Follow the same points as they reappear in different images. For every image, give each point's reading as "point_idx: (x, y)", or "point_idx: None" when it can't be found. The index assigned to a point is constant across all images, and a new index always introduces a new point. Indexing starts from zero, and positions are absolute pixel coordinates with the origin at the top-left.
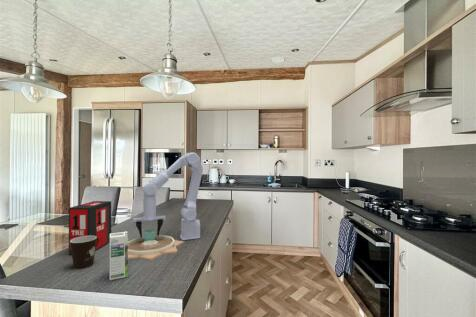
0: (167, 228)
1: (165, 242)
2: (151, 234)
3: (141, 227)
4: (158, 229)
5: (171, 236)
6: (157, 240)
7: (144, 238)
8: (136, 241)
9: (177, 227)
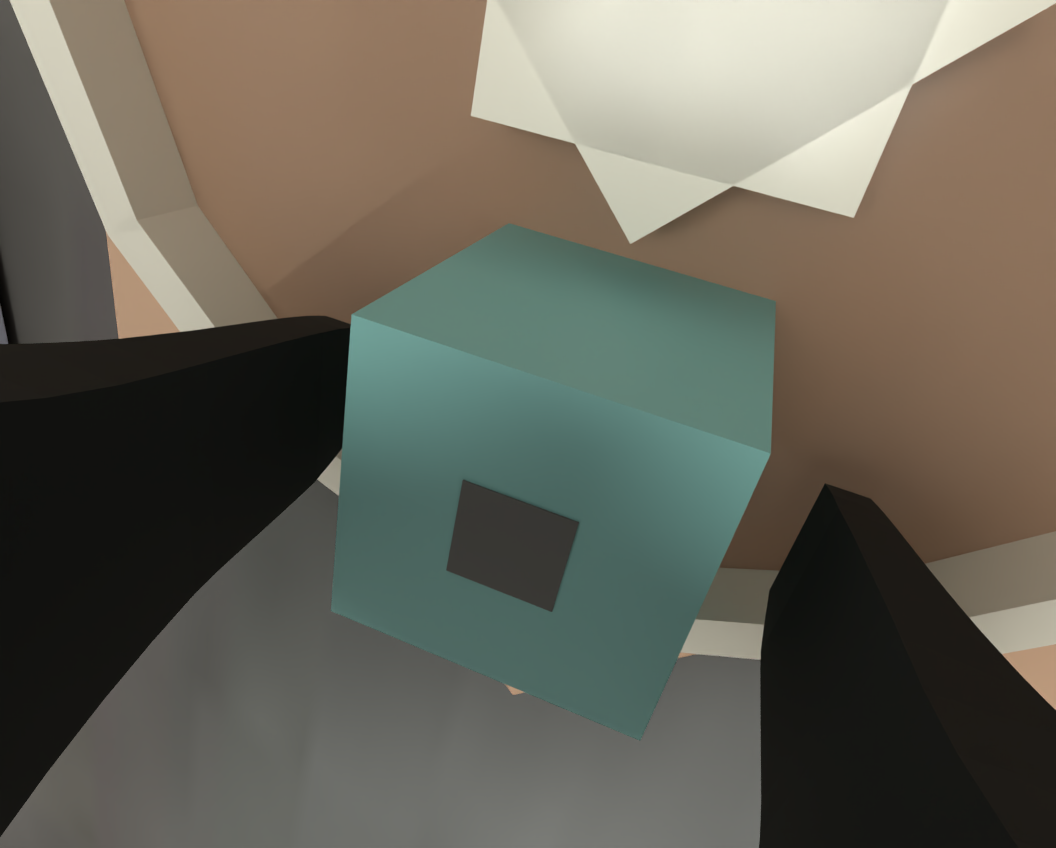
0: (199, 802)
1: (265, 5)
2: (516, 322)
3: (975, 777)
4: (170, 357)
5: None
6: None
7: None
8: None
9: (76, 739)
